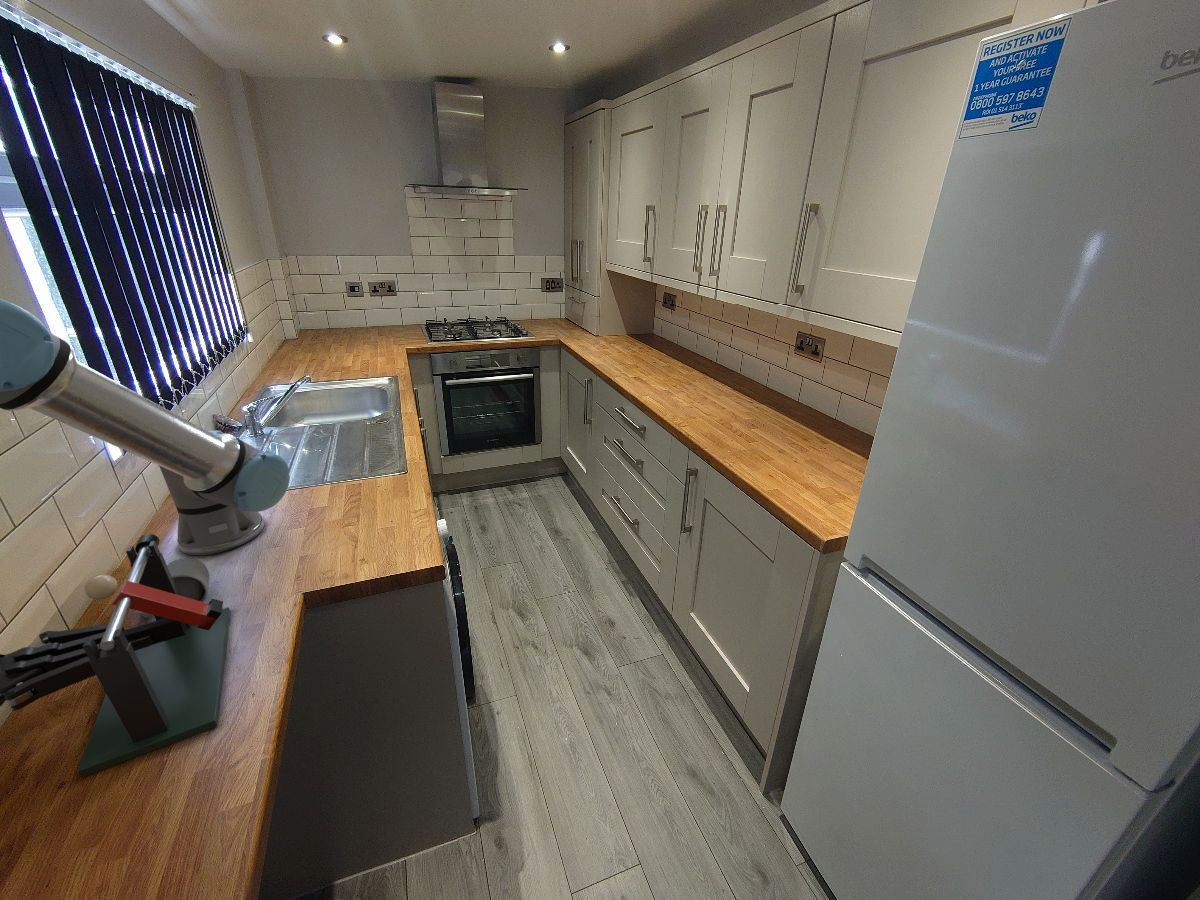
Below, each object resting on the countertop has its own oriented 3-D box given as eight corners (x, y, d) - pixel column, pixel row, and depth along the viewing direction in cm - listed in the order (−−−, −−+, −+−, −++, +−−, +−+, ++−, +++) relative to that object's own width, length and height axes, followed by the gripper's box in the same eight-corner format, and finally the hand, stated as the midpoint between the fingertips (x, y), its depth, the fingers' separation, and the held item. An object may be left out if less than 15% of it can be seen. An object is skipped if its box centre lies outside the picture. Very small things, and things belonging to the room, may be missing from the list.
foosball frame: (128, 642, 85) (84, 553, 78) (230, 612, 91) (197, 527, 84) (81, 777, 64) (14, 672, 57) (217, 726, 70) (172, 626, 63)
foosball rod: (217, 573, 90) (108, 538, 80) (230, 556, 90) (122, 519, 80) (199, 677, 69) (49, 647, 60) (216, 655, 69) (69, 621, 60)
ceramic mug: (215, 581, 99) (201, 547, 96) (214, 605, 93) (199, 570, 90) (144, 603, 94) (127, 568, 91) (138, 630, 88) (119, 593, 84)
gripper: (-11, 677, 72) (196, 618, 83) (-61, 754, 62) (184, 674, 72) (-38, 635, 69) (181, 579, 80) (-95, 708, 59) (165, 632, 69)
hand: (182, 624), depth 76 cm, fingers closed
